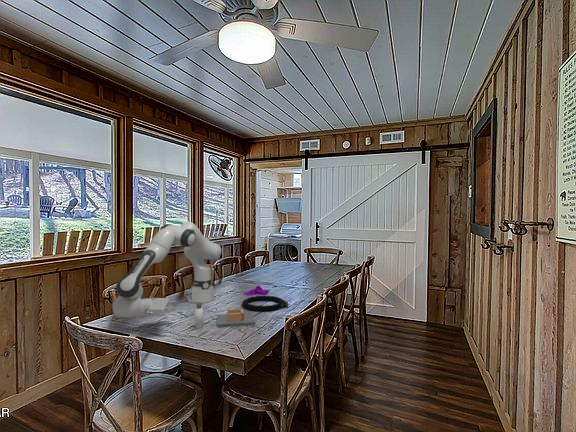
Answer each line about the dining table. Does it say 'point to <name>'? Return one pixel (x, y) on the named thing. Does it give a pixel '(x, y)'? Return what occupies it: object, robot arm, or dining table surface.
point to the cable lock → (255, 308)
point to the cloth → (256, 291)
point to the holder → (235, 318)
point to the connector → (199, 316)
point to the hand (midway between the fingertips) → (176, 306)
